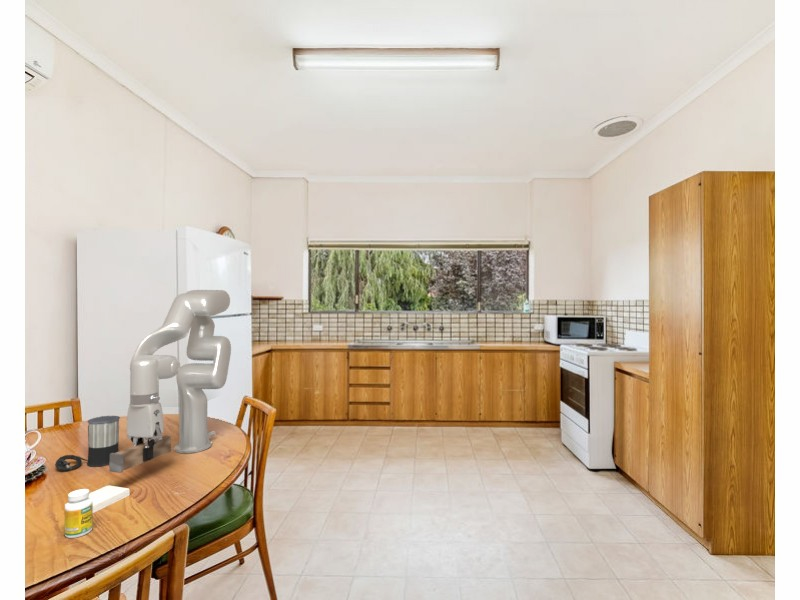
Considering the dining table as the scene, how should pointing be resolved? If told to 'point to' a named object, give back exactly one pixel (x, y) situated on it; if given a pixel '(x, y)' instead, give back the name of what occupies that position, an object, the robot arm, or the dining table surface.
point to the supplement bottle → (78, 514)
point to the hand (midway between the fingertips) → (144, 459)
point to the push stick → (137, 455)
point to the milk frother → (96, 443)
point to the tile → (107, 496)
